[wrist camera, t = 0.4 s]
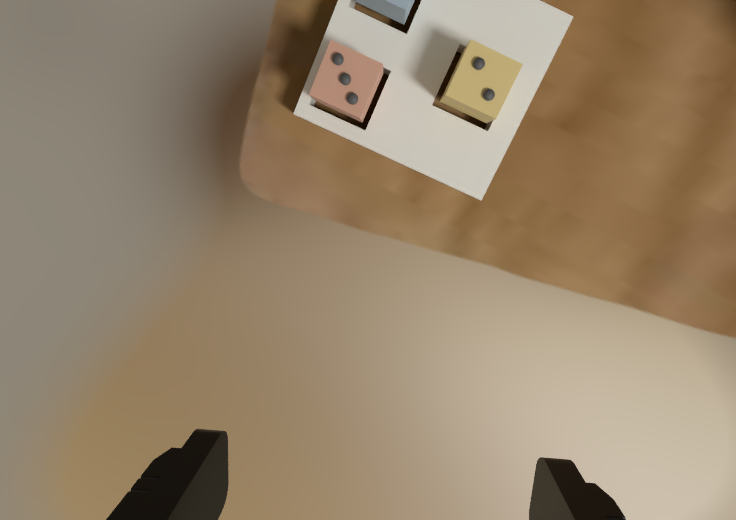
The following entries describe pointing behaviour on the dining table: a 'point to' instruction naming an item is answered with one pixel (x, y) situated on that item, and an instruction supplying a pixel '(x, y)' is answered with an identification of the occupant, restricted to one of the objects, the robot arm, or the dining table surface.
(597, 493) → the robot arm
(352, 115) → the tile three
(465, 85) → the tile two
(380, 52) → the tile board
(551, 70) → the dining table surface
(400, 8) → the tile one
